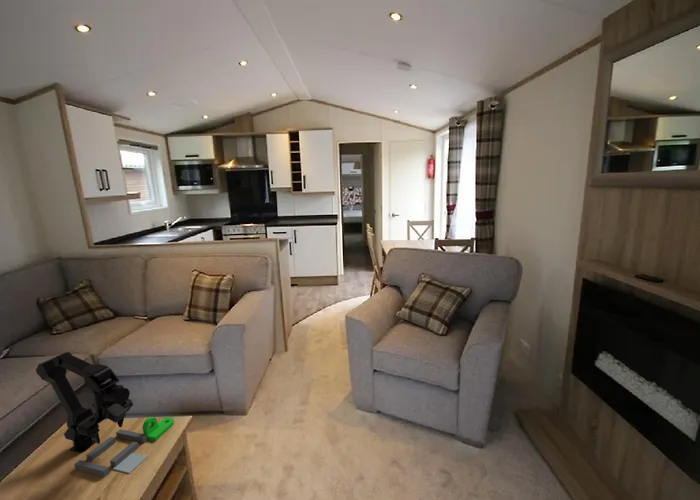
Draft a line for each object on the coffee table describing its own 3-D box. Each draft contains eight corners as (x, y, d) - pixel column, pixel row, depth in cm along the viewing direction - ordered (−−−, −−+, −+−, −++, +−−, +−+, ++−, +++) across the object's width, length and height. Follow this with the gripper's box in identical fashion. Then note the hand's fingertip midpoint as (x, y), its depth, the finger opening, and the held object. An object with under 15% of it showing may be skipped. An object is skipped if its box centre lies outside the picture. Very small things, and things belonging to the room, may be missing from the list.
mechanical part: (156, 441, 140) (153, 424, 139) (144, 439, 142) (141, 422, 140) (177, 422, 152) (175, 406, 150) (166, 420, 153) (164, 404, 152)
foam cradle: (75, 469, 127) (74, 463, 127) (121, 434, 145) (120, 429, 145) (104, 477, 123) (103, 471, 123) (148, 440, 141) (147, 434, 141)
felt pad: (113, 469, 127) (112, 468, 127) (131, 453, 134) (131, 452, 134) (129, 473, 124) (129, 472, 124) (147, 457, 132) (147, 456, 132)
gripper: (95, 418, 119) (102, 456, 122) (140, 388, 136) (146, 422, 139) (72, 413, 122) (79, 451, 125) (119, 384, 139) (125, 418, 142)
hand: (109, 434), depth 133 cm, fingers open, 9 cm apart
